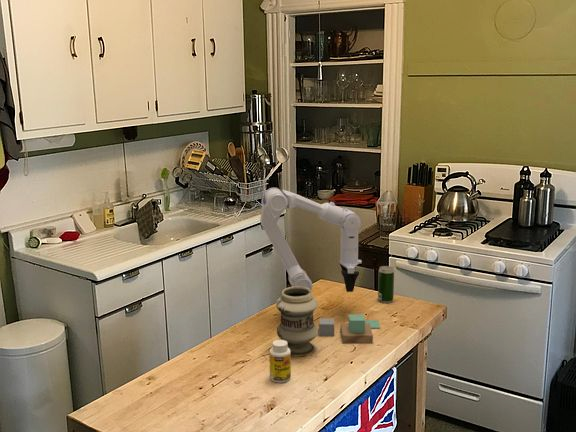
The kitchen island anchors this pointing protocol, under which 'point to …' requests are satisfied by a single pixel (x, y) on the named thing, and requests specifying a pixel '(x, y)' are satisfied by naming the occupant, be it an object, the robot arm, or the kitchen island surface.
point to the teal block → (356, 324)
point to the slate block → (326, 327)
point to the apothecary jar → (297, 319)
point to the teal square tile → (373, 324)
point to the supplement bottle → (280, 361)
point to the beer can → (386, 284)
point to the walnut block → (356, 334)
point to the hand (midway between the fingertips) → (348, 287)
